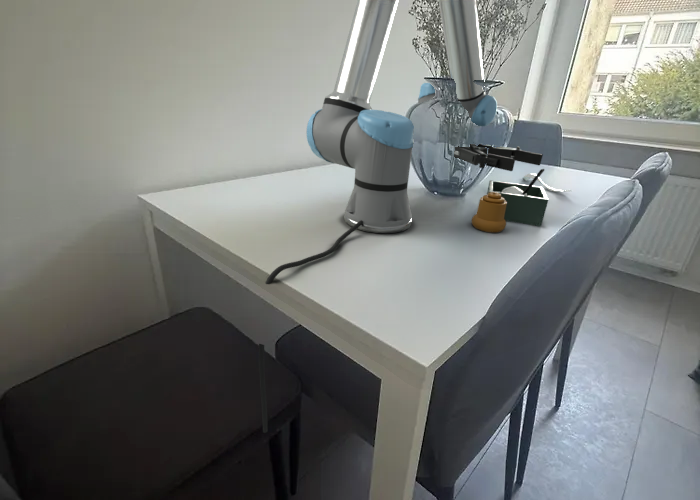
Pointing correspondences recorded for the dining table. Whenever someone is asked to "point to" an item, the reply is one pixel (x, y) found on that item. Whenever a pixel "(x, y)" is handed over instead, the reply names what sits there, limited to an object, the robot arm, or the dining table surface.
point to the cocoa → (518, 191)
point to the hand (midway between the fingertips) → (527, 162)
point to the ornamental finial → (490, 213)
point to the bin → (522, 203)
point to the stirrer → (542, 183)
